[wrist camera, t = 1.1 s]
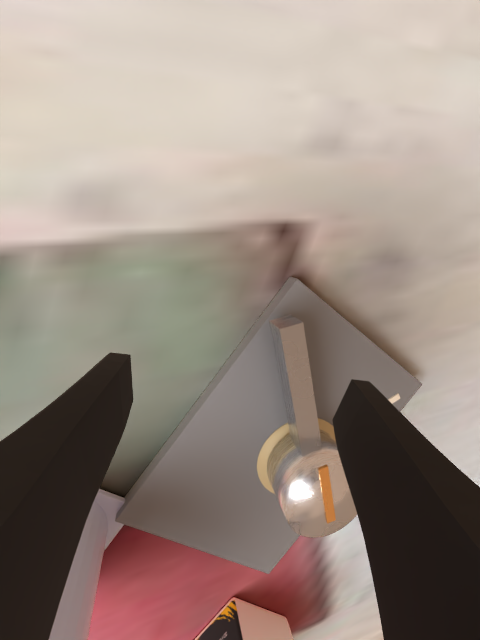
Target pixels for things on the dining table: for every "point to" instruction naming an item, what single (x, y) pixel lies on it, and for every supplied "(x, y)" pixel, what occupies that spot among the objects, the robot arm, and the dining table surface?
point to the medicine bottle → (246, 624)
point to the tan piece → (305, 445)
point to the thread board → (252, 436)
